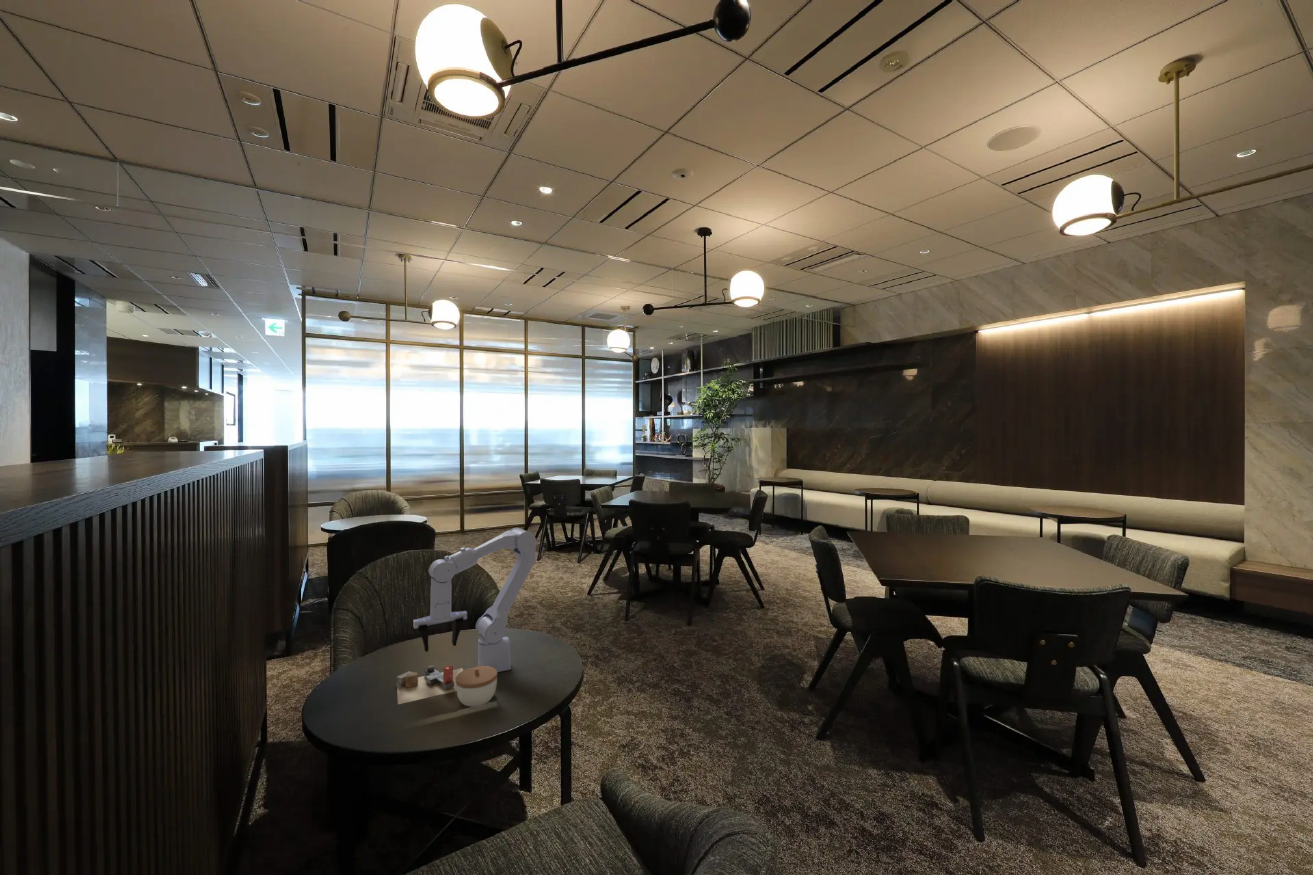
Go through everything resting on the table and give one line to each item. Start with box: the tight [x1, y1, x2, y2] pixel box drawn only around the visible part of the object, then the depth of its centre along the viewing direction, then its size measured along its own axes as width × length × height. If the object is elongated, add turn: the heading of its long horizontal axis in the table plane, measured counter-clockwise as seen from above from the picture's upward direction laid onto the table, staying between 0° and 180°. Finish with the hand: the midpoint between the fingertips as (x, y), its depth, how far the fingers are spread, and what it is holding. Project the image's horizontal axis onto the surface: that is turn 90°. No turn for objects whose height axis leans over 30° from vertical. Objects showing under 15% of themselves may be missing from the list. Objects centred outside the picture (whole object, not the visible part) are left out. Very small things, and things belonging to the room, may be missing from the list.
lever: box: [423, 665, 454, 690], centre depth 147 cm, size 5×14×6 cm, turn 48°
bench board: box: [396, 664, 464, 706], centre depth 146 cm, size 18×14×4 cm
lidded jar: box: [456, 665, 498, 710], centre depth 138 cm, size 11×11×9 cm
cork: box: [406, 671, 419, 688], centre depth 145 cm, size 3×3×3 cm
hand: (440, 647), depth 149 cm, fingers open, 7 cm apart
